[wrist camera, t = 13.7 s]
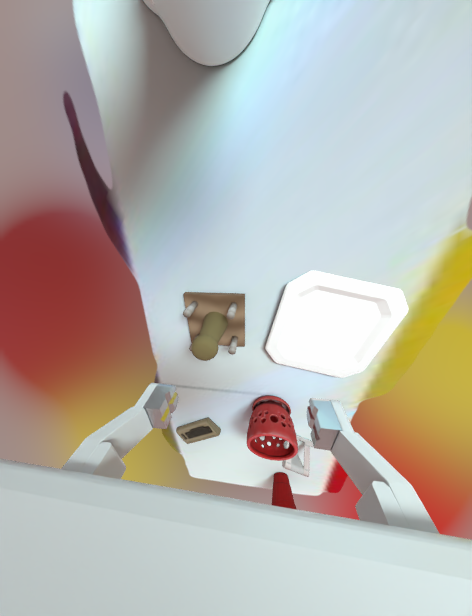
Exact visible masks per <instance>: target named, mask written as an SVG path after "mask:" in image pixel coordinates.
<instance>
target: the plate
mask: <svg viewBox="0 0 472 616" xmlns="http://www.w3.org/2000/svg"><path fill="white" fill-rule="evenodd" d="M407 313H408V306H407V303H406V300H405V297H404V294H403V291H402V290H400V289H398V288H394V287H389V286H384V285H380V284H375V283H370V282H366V281H361V280H356V279H352V278H347V277H342V276H337V275H333V274H328V273H323V272H319V271H309V272H307V273H305V274H303V275H302V276H300V277H298V278H296V279H294V280H293V281H291V282H289V283H288V284H287V285H286V287H285V290H284V293H283V296H282V299H281V302H280V305H279V308H278V311H277V314H276V317H275V320H274V322H273V325H272V328H271V331H270V334H269V337H268V340H267V343H266V346H265V349H266V351H267V352H268V354H269V355H270V356H271V358H272V359H273V360H274V362H276V363H278V364H283V365H287V366H291V367H296V368H300V369H304V370H309V371H313V372H317V373H322V374H326V375H330V376H335V377H339V378H343V377H347V376H350V375H353V374H356V373H360V372H362V371H364V370H365V369H366V367H367V366H368V365H369V363H370V362H371V361H372V359H373V358H374V357H375V355H376V354H377V353H378V351H379V350H380V349H381V347H382V346H383V345H384V343H385V342H386V341H387V339H388V338H389V337H390V335H391V334H392V333H393V331H394V330H395V329H396V327H397V326H398V325H399V323H400V322H401V321H402V319H403V318H404V317H405V315H406V314H407Z"/></svg>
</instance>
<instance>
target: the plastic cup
mask: <svg viewBox="0 0 472 616" xmlns="http://www.w3.org/2000/svg"><path fill="white" fill-rule="evenodd" d="M272 496H273V497H272V505H273V506H279V507H285V508H291V509H296V506H295V504H294V500H293V495H292V491H291V487H290V484H289V479H288V476H287V474H285V473H281V472H278V473H275V474H274V482H273V495H272Z"/></svg>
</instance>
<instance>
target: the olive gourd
mask: <svg viewBox="0 0 472 616" xmlns="http://www.w3.org/2000/svg"><path fill="white" fill-rule="evenodd" d="M227 326H228V321H227V318H226V317H225V316H224V315H223V314H221V313H219V312H209V313H208V314H206V316H205V317H204V320H203V324H202V327H201V330H200V333H199V336H197V337H196V338H195V339H194V340H193V342H192V346H191V349H192V353H193V355H194V356H195V357H196V358H198V359H200V360H205V361H206V360H210V359H212V358H214V357H215V355H216V354H217V351H218V343H219V341H220V339H221V337H222V336H223V334H224V332H225V331H226V329H227Z"/></svg>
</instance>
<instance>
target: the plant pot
mask: <svg viewBox="0 0 472 616" xmlns="http://www.w3.org/2000/svg"><path fill="white" fill-rule="evenodd" d="M252 410H253V413H252V415H251V418H250V422H249V427H248V433H247V446H248V448H249V450H250V451H251V452H253V453H254V454H256V455H257V456H259V457H262V458H265V459H269V460H278V461H279V460H288V459H291V458H293V457H294V456H295V455H296V454H297V452H298V444H297V437H296V433H295V429H294V425H293V422H292V419H291V417H290V414H291V409H290V407H289V405H288V404H287V403H286V402H285V401H284V400H283V399H281V398H278V397H275V396H263V397H261V398H259V399H257V400H256V401H255V402H254V404H253V407H252ZM261 436H265V439H264V440H263V441H262V440H260V438H259V437H261ZM272 436H274V437H276V438H275V439H273V437H272ZM279 438H282V440H279ZM255 439H256V441H257V442H255ZM268 441H269V442H271V446H268V445H267V442H268ZM285 441H288V442H289V447H288V448H287V449H285V448H284V442H285ZM278 443H279V444H280V446H279V447H277V444H278ZM262 444H263V445H264V448H262V446H261V445H262Z"/></svg>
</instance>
